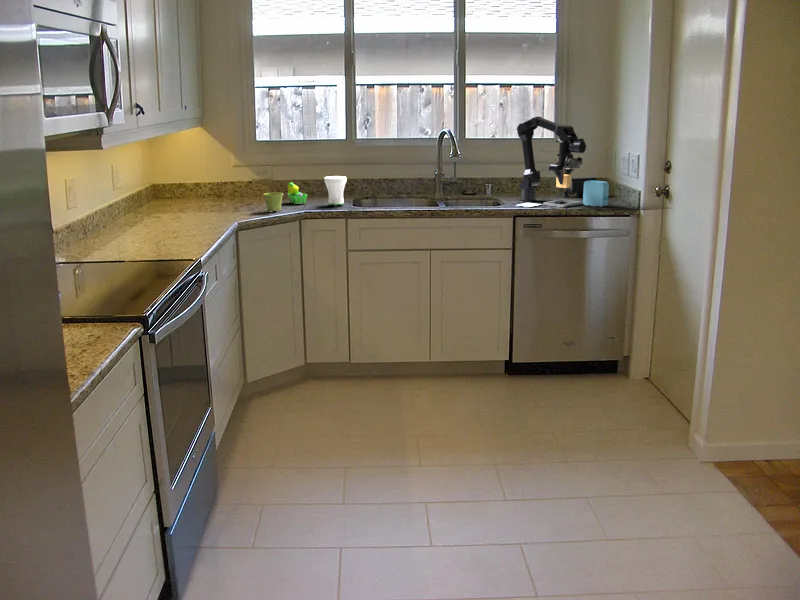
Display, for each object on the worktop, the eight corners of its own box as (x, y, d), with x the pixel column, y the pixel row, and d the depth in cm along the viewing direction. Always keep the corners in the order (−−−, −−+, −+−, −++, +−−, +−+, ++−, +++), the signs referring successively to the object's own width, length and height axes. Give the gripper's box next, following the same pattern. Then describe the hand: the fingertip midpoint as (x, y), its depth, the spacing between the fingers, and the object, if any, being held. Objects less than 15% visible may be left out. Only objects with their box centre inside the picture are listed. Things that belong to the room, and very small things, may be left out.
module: (556, 187, 384) (556, 174, 383) (560, 186, 387) (561, 174, 386) (566, 187, 380) (566, 175, 379) (571, 187, 383) (571, 175, 381)
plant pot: (273, 209, 383) (272, 192, 381) (288, 210, 379) (287, 193, 377) (260, 212, 376) (259, 194, 373) (275, 213, 371) (274, 195, 369)
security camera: (560, 196, 416) (561, 177, 413) (592, 195, 420) (593, 176, 417) (566, 198, 409) (567, 179, 406) (598, 196, 413) (599, 177, 411)
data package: (608, 206, 380) (609, 182, 377) (602, 207, 377) (603, 182, 374) (588, 203, 389) (589, 179, 386) (582, 204, 386) (583, 180, 383)
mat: (515, 206, 385) (515, 204, 385) (527, 203, 391) (527, 202, 391) (530, 207, 378) (530, 206, 378) (542, 205, 385) (542, 204, 385)
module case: (543, 205, 385) (543, 202, 384) (561, 202, 396) (561, 199, 395) (563, 208, 377) (563, 205, 376) (581, 204, 387) (582, 201, 387)
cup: (351, 205, 393) (350, 177, 389) (331, 207, 388) (330, 179, 384) (341, 203, 402) (340, 175, 399) (321, 204, 397) (320, 177, 393)
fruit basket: (308, 204, 399) (307, 182, 396) (292, 205, 395) (291, 183, 392) (301, 201, 409) (300, 180, 406) (285, 203, 405) (284, 181, 402)
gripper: (568, 154, 367) (566, 187, 371) (589, 151, 380) (588, 183, 384) (548, 152, 375) (547, 185, 379) (570, 150, 388) (569, 181, 392)
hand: (563, 183), depth 383 cm, fingers closed on module, 4 cm apart
